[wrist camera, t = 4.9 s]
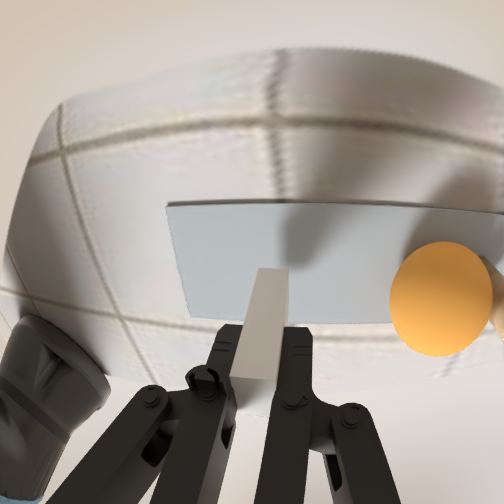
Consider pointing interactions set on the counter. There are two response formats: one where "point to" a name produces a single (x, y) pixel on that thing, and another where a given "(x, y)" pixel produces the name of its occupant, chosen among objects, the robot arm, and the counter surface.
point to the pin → (496, 297)
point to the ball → (440, 298)
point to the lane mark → (314, 254)
